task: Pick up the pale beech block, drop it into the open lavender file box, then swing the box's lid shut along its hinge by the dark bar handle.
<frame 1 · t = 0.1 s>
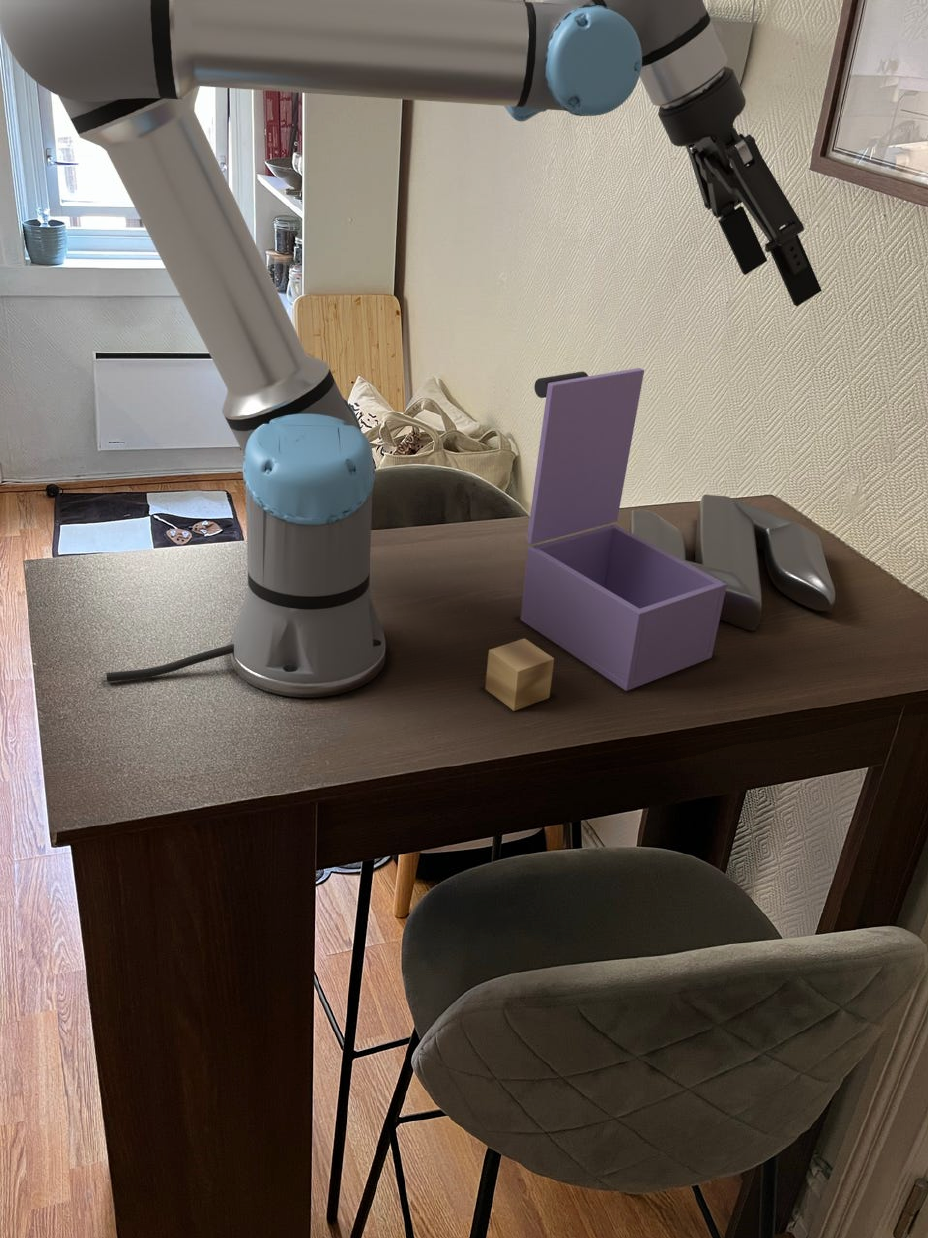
hand: (780, 281, 113), 36 cm above the table, tool tilted 35°, fingers open, 13 cm apart
beech block: (517, 693, 108), on the table
file box: (614, 638, 119), on the table
file box lid: (567, 447, 117), point 18 cm above the table, hinge at 88.0°
emblem: (721, 573, 135), on the table
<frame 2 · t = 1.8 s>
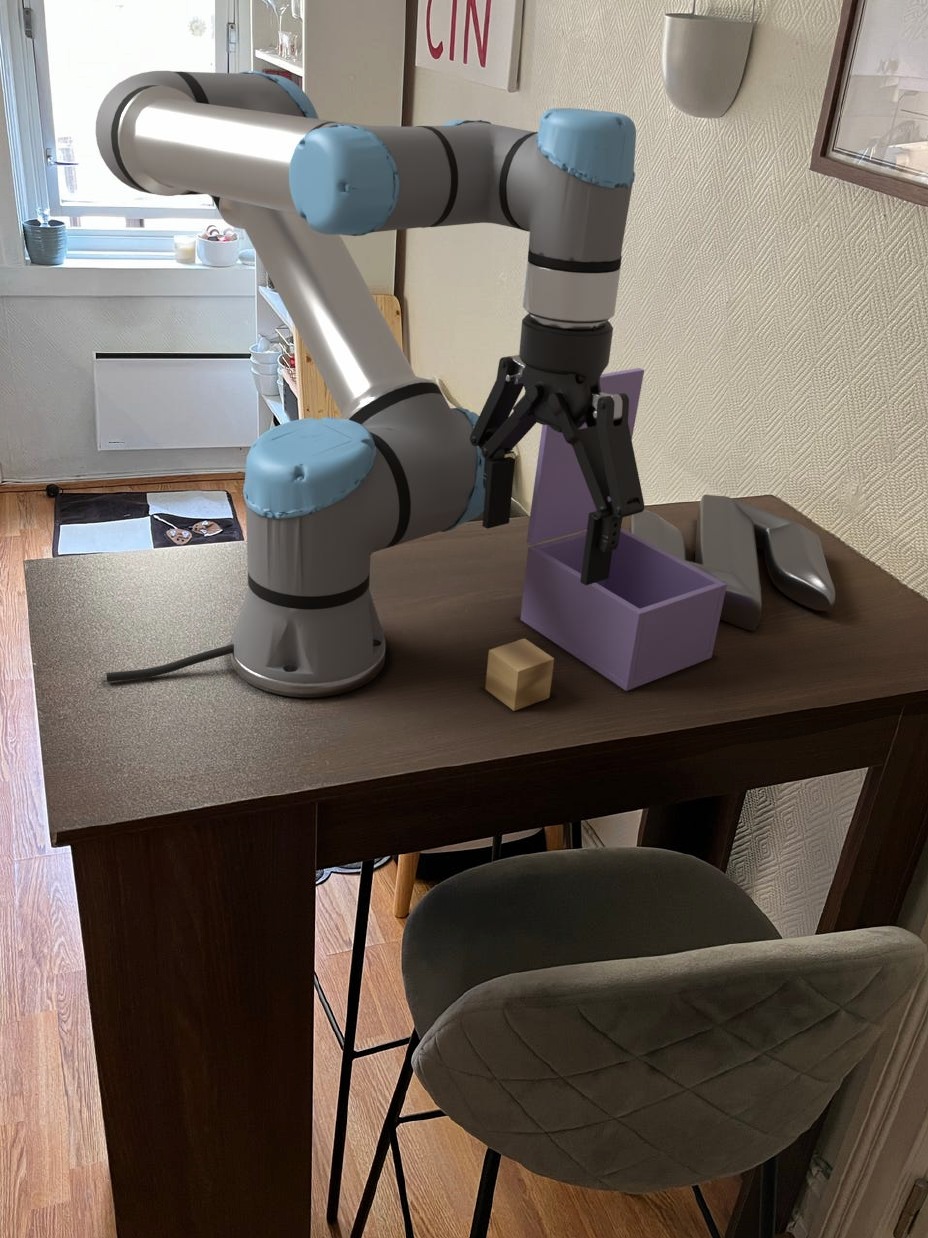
hand: (542, 551, 101), 15 cm above the table, tool pointing down, fingers open, 13 cm apart
nothing on the table moved.
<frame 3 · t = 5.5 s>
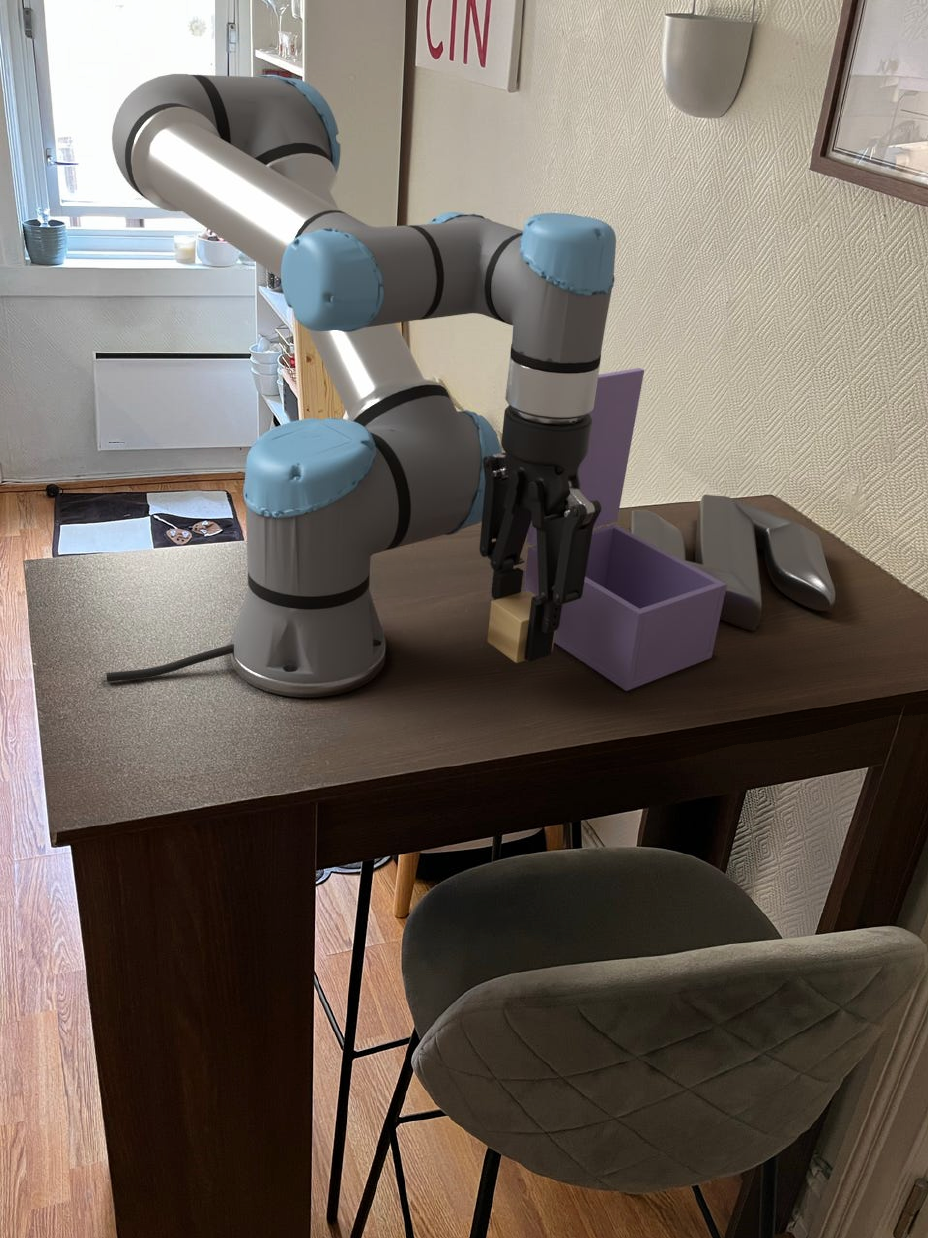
hand: (520, 643, 106), 6 cm above the table, tool pointing down, fingers closed on beech block, 4 cm apart
beech block: (519, 646, 106), point 5 cm above the table, touching gripper
everything else where it was.
when the fingers open (8 cm above the table, at t = 10.3 s): beech block drops 7 cm, resting on file box.
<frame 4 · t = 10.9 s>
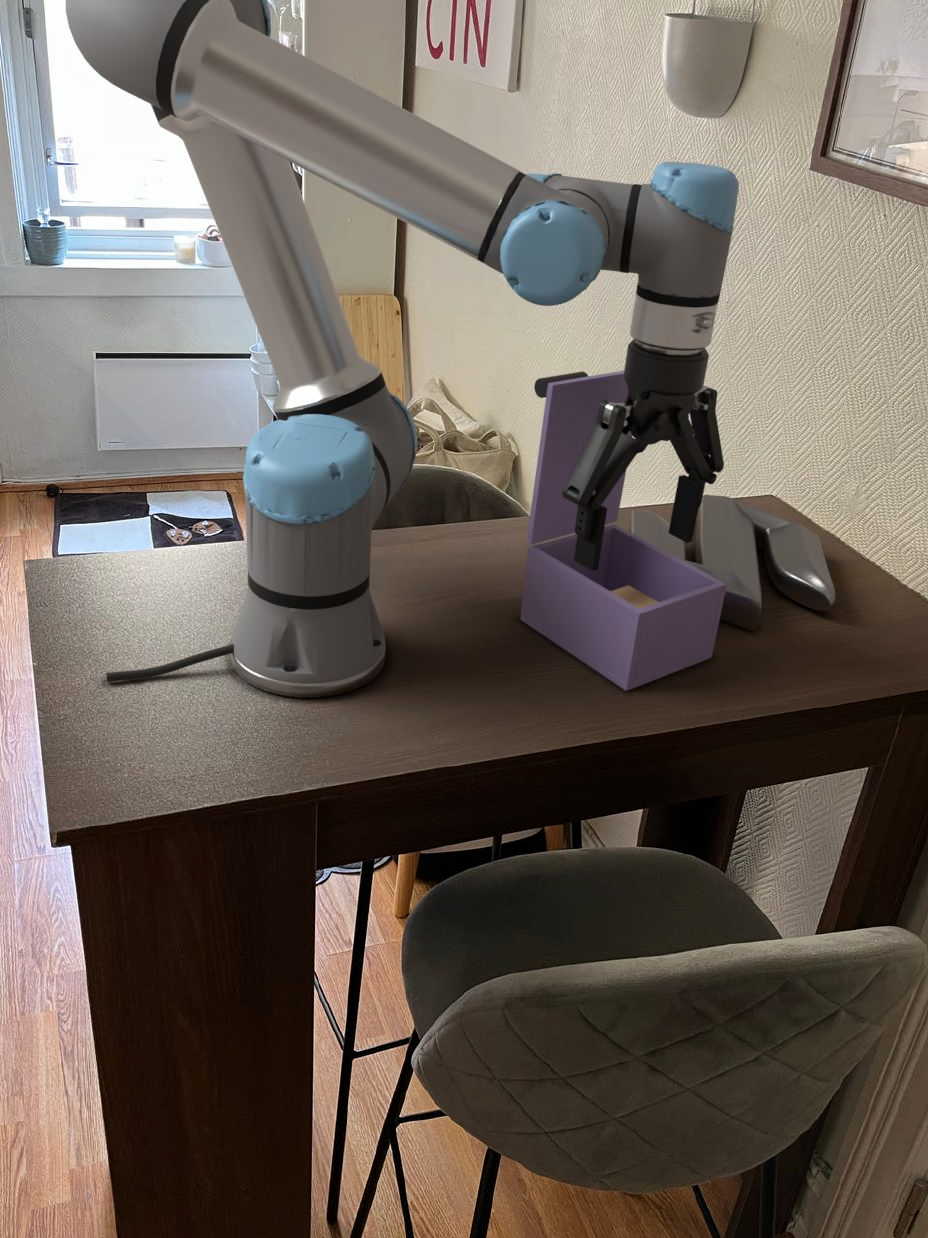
hand: (634, 551, 113), 11 cm above the table, tool pointing down, fingers open, 13 cm apart
beech block: (622, 635, 118), point 1 cm above the table, touching file box
everything else where it was.
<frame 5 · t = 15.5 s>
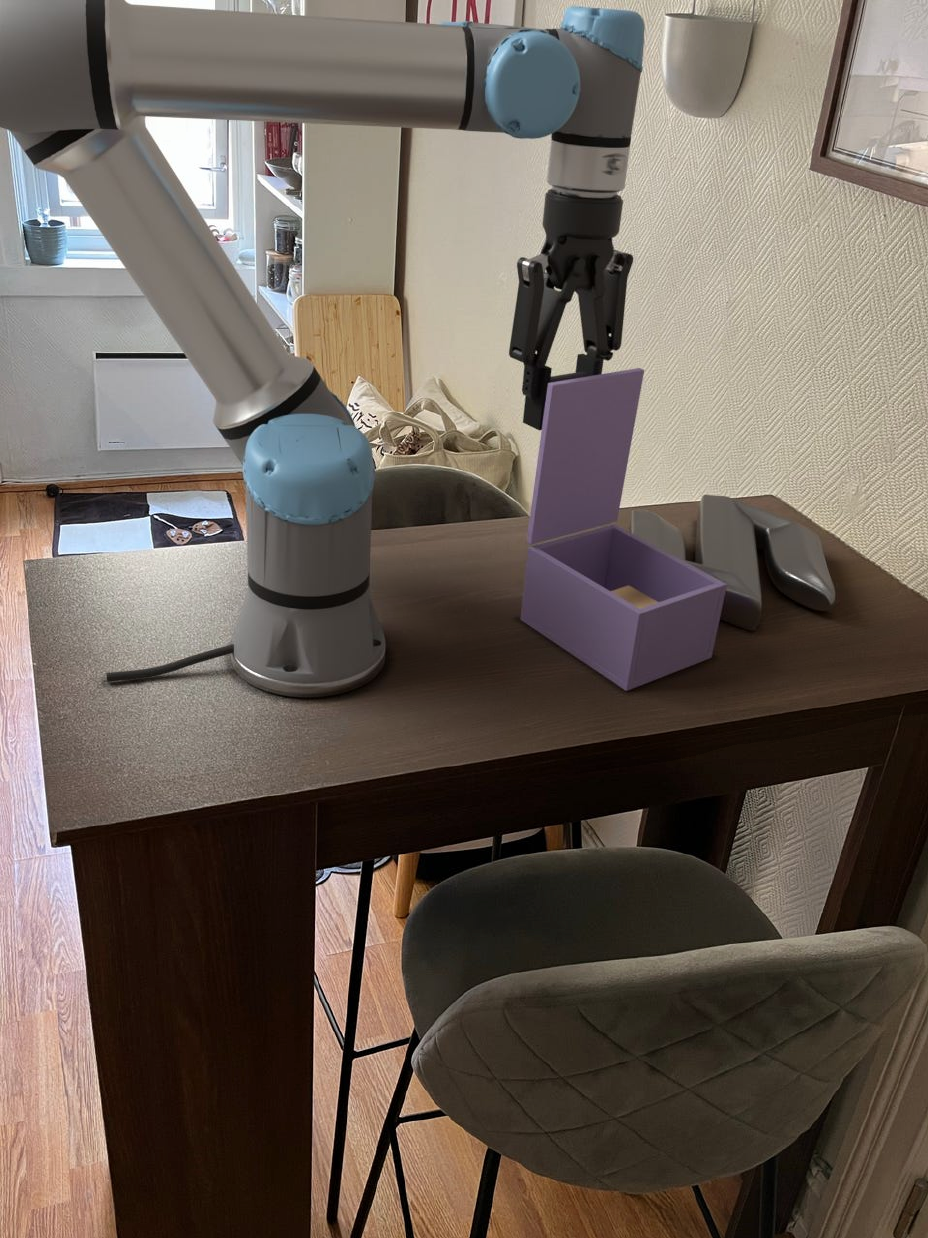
hand: (557, 420, 118), 20 cm above the table, tool pointing down, fingers closed on file box lid, 6 cm apart
file box lid: (567, 447, 117), point 18 cm above the table, hinge at 88.0°, touching gripper
everything else where it was.
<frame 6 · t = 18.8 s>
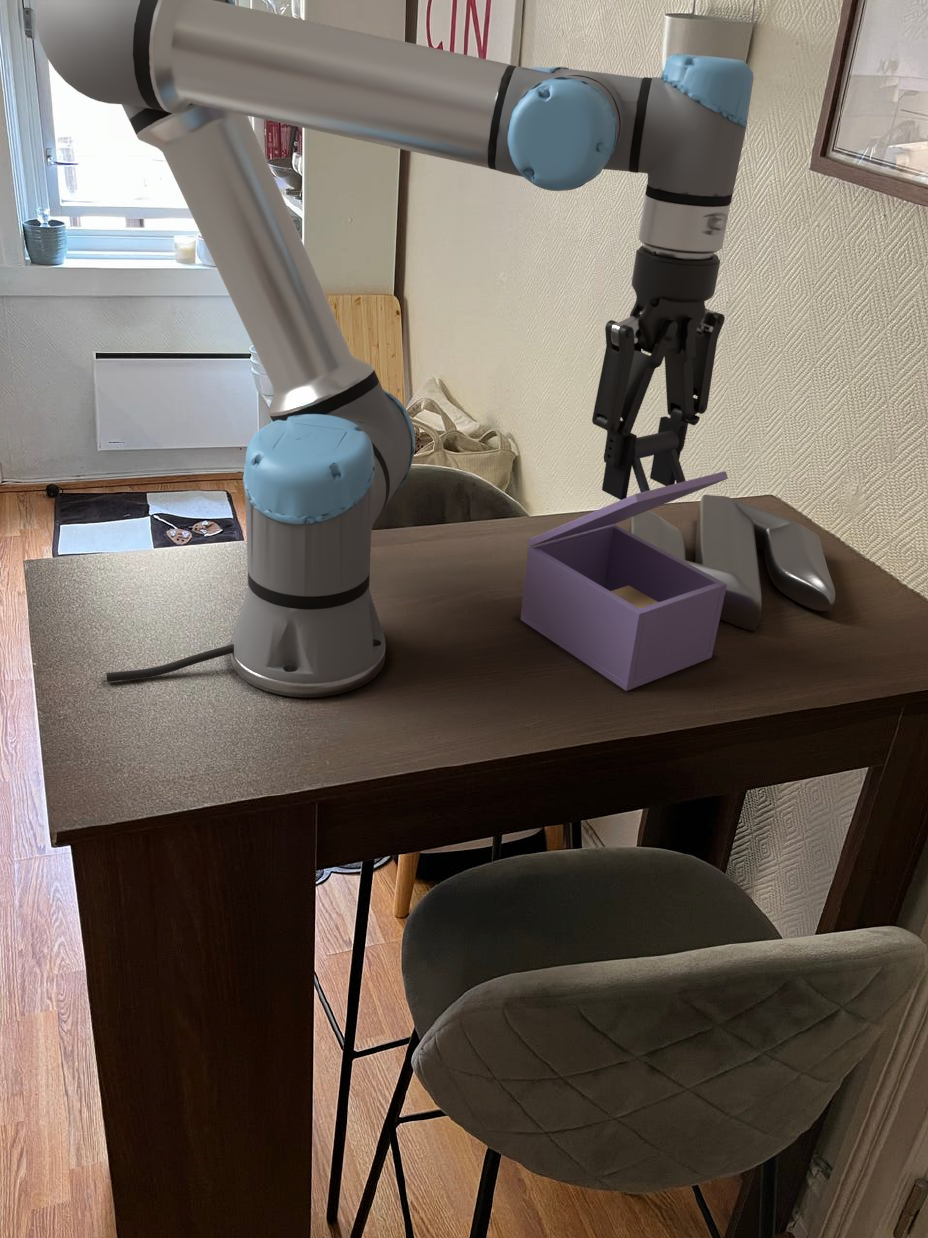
hand: (638, 487, 110), 17 cm above the table, tool pointing down, fingers closed on file box lid, 6 cm apart
file box lid: (616, 484, 113), point 17 cm above the table, hinge at 37.0°, touching gripper
everything else where it was.
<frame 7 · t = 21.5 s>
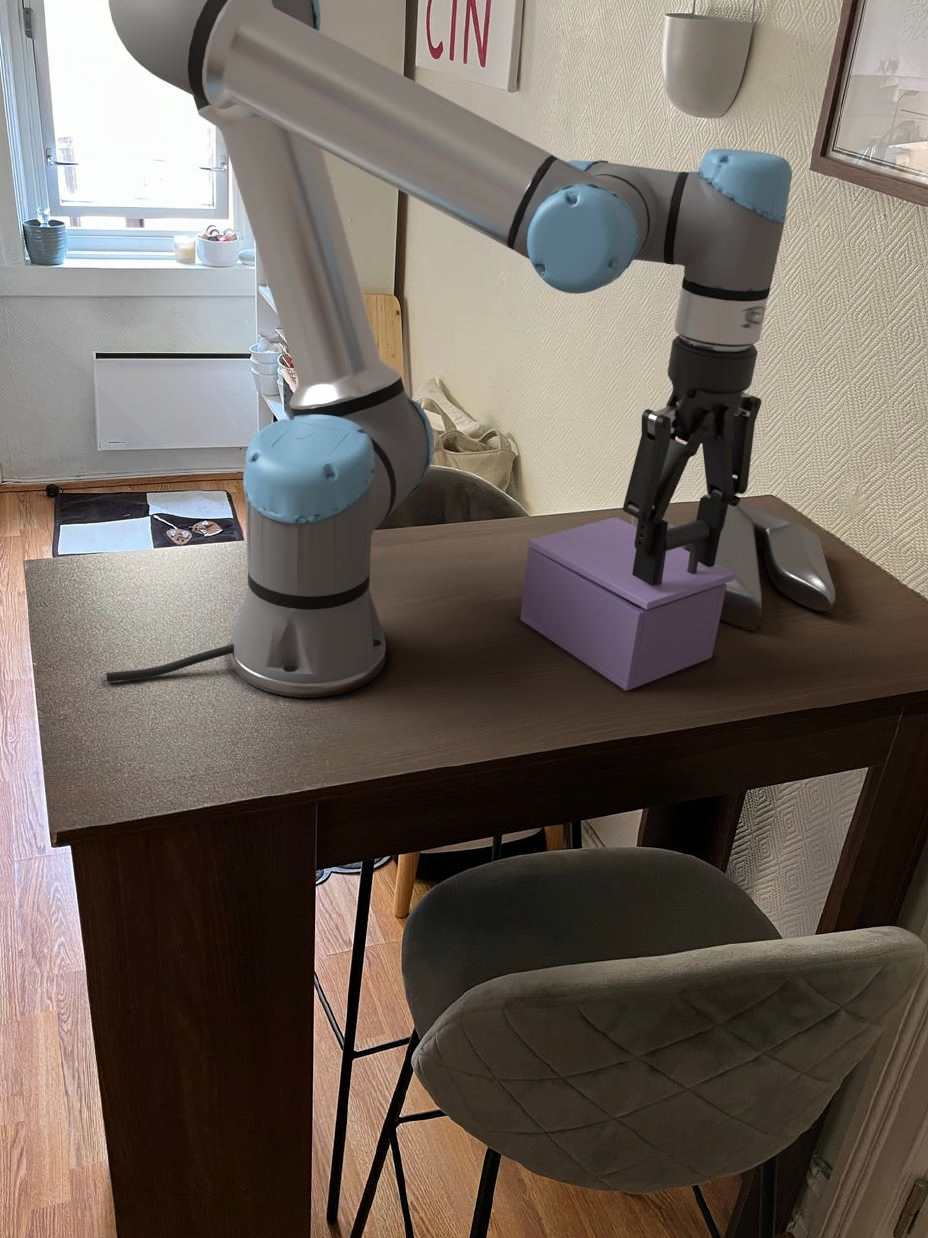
hand: (673, 569, 109), 11 cm above the table, tool pointing down, fingers open, 7 cm apart
file box lid: (632, 534, 113), point 12 cm above the table, hinge at 2.4°
everything else where it was.
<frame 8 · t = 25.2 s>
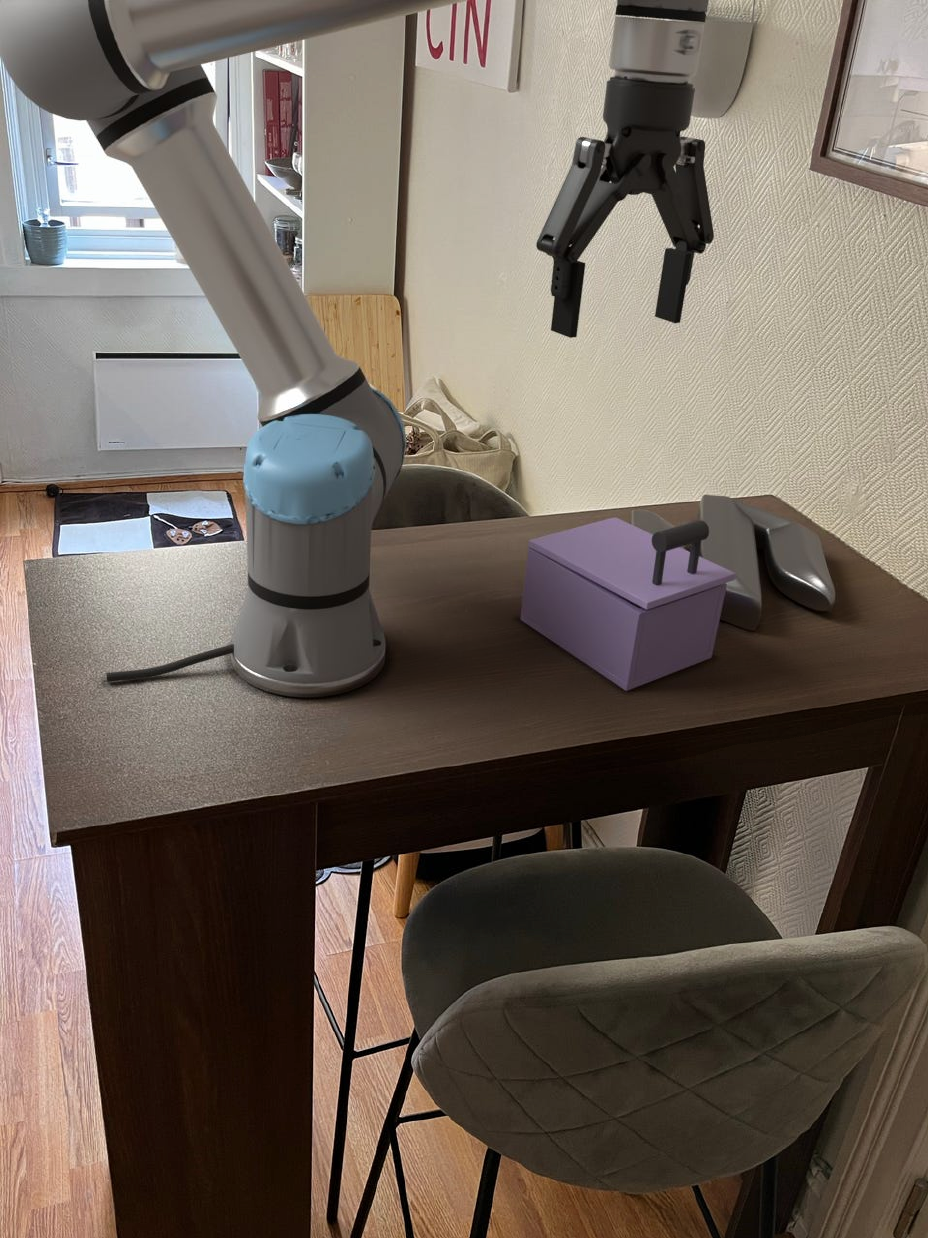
hand: (617, 326, 105), 33 cm above the table, tool pointing down, fingers open, 13 cm apart
nothing on the table moved.
at the end: beech block inside the target area in the file box (1.0 cm from its centre), point 0.8 cm above the file box's base; file box lid at +2° (first picture: +88°) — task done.
